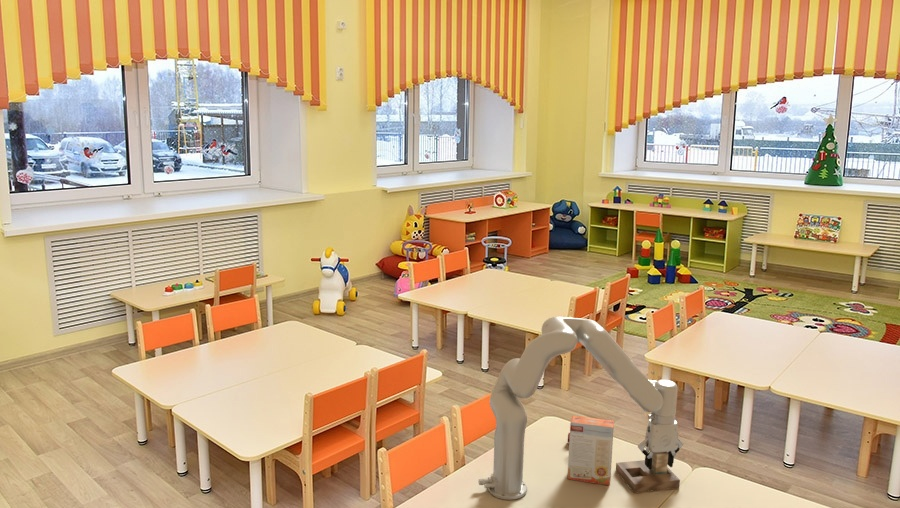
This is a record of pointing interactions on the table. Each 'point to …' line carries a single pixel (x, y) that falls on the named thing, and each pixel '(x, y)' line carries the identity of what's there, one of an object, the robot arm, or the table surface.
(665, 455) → the peg
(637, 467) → the peg board
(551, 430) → the table surface
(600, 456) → the cracker box
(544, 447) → the table surface
